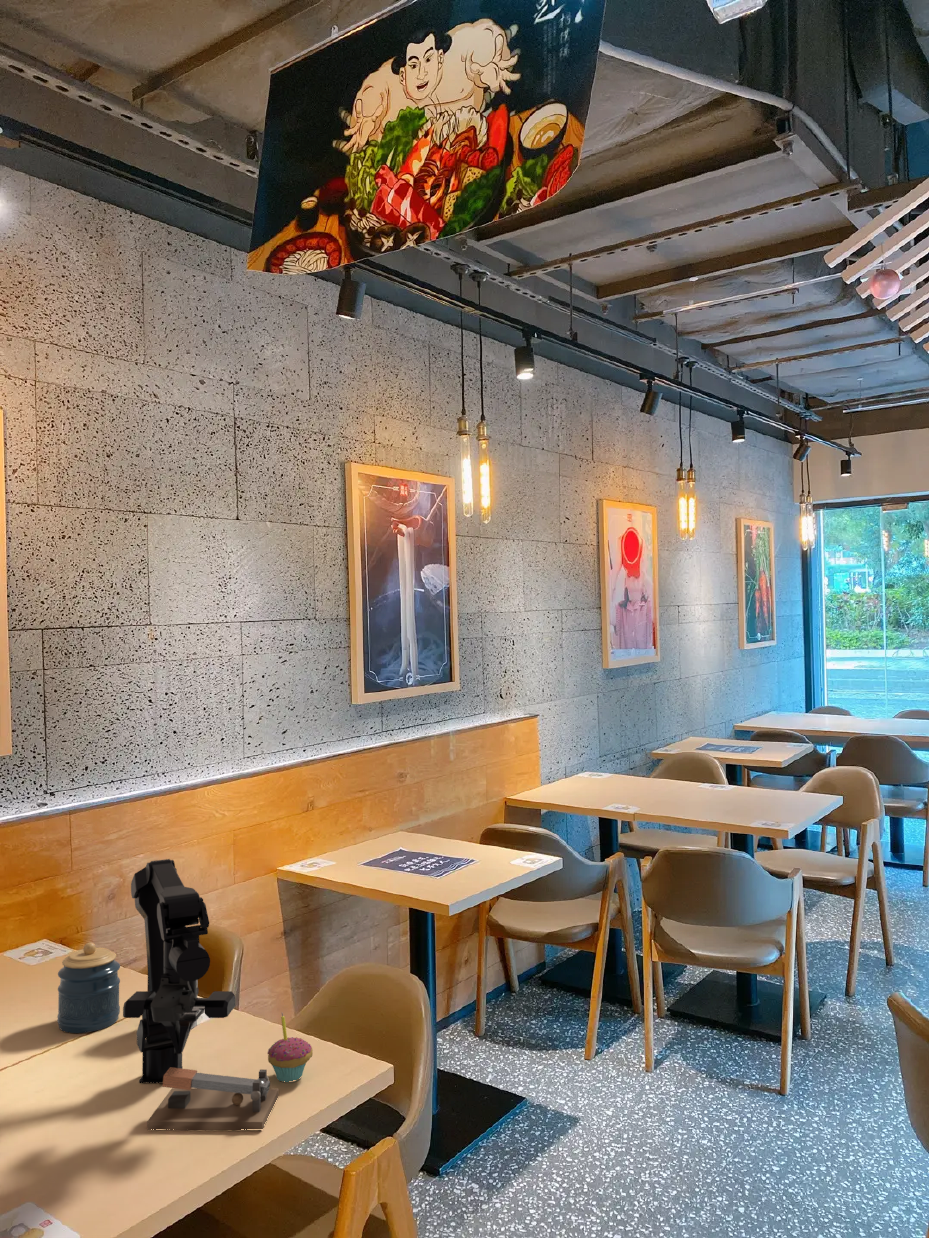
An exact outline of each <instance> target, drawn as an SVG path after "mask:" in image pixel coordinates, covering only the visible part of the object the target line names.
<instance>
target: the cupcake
mask: <svg viewBox="0 0 929 1238" xmlns="http://www.w3.org/2000/svg"><path fill="white" fill-rule="evenodd" d="M280 1018H281V1019H280V1020H281V1025H282V1026H281V1027H282V1036H283V1038H282V1039H279V1040H277V1041H275V1042H274V1043H273V1044H272V1045H271V1046H270V1047H269V1048H268V1050H267V1061H268V1063H269V1064H270V1065H271V1066H272V1069H273V1070H274V1073H275V1076H276V1079H278V1080H279V1082H280V1081H283V1082H284V1081H285V1082H289V1081H293V1080H297V1079H299V1078H300V1077H301V1076H303V1073H304V1070H305V1066H306V1064H307V1062H309V1061H310V1059H311V1058H312V1057H313V1051H314V1050H313V1047H312V1045H311V1044H310V1043H308V1041H307V1040H304V1038H303V1039H302V1038H301V1037H297V1036H296V1037H288V1034H287V1027H286V1026H287V1025H286V1016H284V1012H282V1011H281V1017H280ZM301 1078H302V1077H301ZM301 1078H300V1079H301ZM300 1079H299V1080H300ZM278 1080H277V1081H278ZM297 1081H298V1080H297ZM283 1082H282V1083H283Z"/></svg>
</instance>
